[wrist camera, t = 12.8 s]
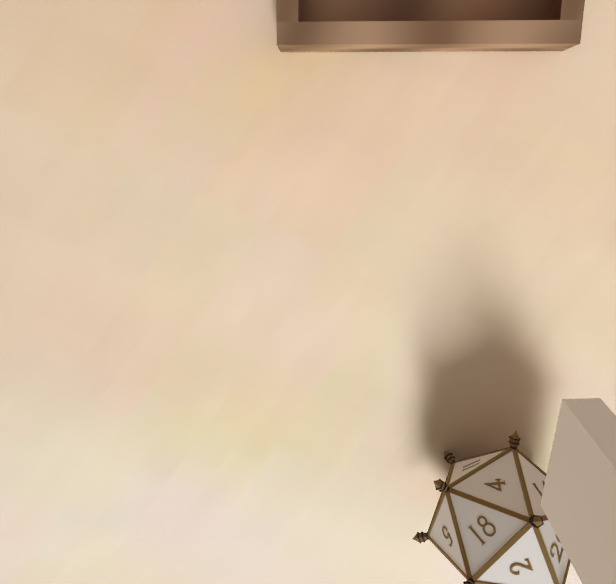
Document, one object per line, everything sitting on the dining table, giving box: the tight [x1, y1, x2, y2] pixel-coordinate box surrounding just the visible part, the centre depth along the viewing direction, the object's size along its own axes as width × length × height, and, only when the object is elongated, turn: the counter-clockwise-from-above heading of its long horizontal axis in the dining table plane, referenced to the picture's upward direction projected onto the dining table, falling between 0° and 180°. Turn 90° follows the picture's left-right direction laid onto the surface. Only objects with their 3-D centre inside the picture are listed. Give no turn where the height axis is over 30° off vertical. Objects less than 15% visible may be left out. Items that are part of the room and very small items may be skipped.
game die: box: [413, 431, 571, 584], centre depth 30 cm, size 9×8×10 cm
